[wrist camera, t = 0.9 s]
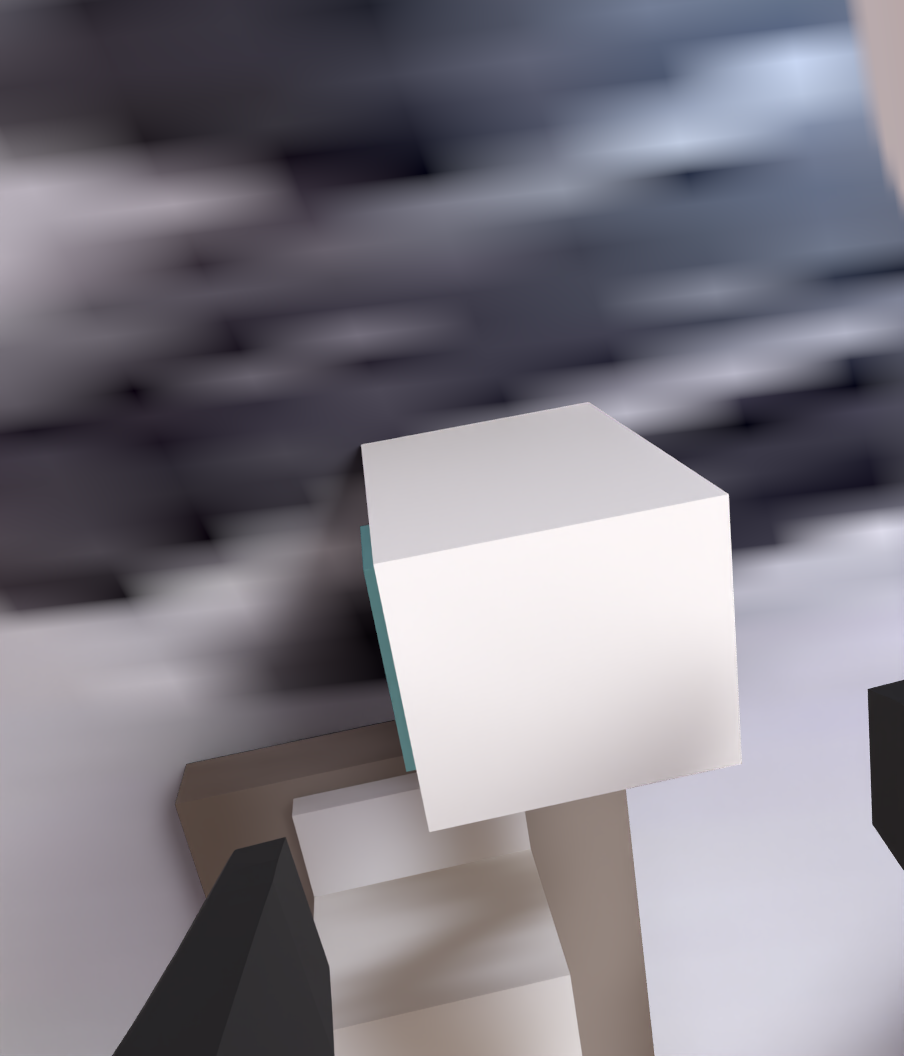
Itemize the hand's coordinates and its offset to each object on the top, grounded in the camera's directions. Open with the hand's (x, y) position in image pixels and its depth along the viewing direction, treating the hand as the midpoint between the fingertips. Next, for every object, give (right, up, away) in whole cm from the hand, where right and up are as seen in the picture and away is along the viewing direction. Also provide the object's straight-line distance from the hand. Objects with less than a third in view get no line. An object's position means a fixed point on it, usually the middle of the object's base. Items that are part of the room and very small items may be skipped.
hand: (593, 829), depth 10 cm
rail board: (-1, -12, +14) cm, 19 cm away
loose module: (-1, +4, +9) cm, 10 cm away
